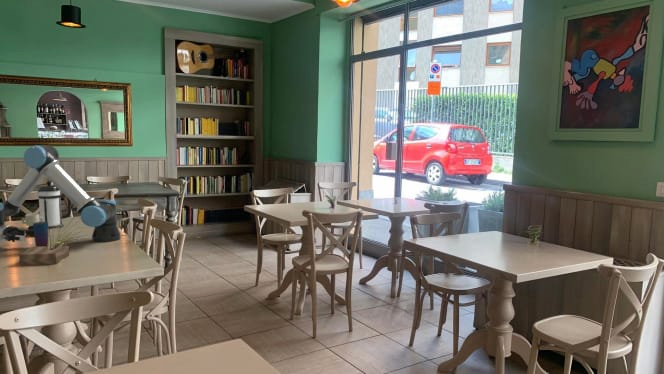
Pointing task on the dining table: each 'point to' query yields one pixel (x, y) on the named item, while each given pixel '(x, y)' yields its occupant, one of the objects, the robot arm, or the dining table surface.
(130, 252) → the dining table surface
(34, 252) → the walnut riser
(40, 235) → the cup
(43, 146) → the robot arm
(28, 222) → the character mug
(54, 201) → the coffee press
